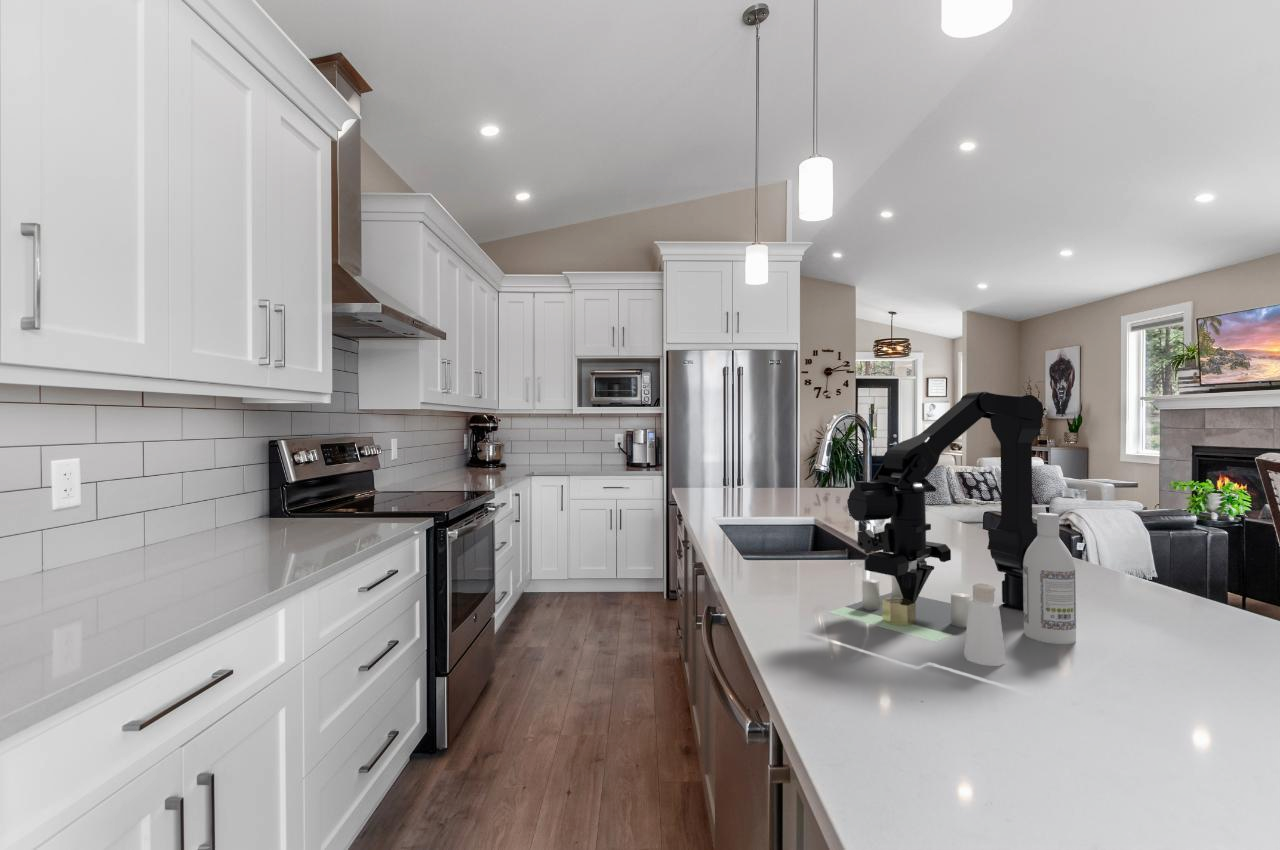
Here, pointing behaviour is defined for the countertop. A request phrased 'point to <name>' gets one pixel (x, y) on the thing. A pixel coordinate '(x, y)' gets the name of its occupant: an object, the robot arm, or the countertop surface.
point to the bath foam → (1049, 586)
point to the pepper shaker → (984, 629)
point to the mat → (929, 624)
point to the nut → (899, 611)
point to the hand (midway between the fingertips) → (909, 606)
